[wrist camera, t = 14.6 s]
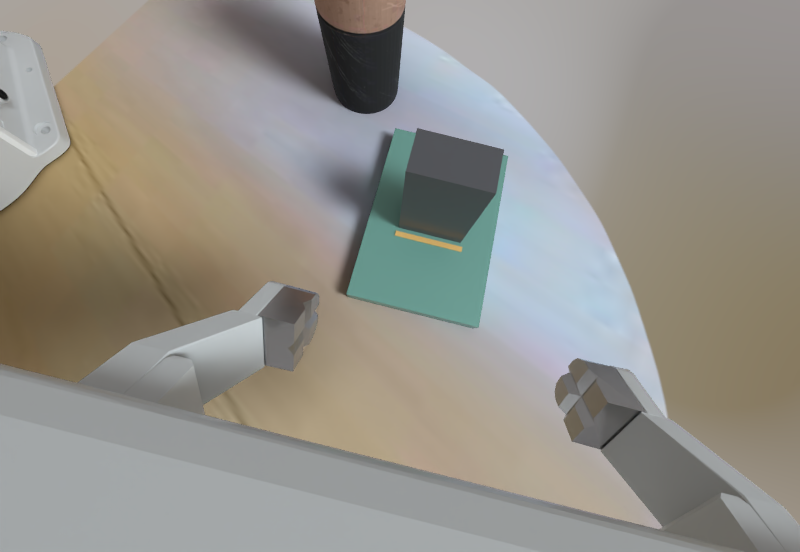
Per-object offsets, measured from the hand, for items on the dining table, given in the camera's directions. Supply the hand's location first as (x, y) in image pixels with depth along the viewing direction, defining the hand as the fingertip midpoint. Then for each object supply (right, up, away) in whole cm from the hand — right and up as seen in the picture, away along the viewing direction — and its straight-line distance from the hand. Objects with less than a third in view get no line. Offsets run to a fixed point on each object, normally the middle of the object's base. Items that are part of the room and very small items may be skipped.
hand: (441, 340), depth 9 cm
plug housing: (+2, +7, +19) cm, 20 cm away
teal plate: (+2, +7, +20) cm, 21 cm away
